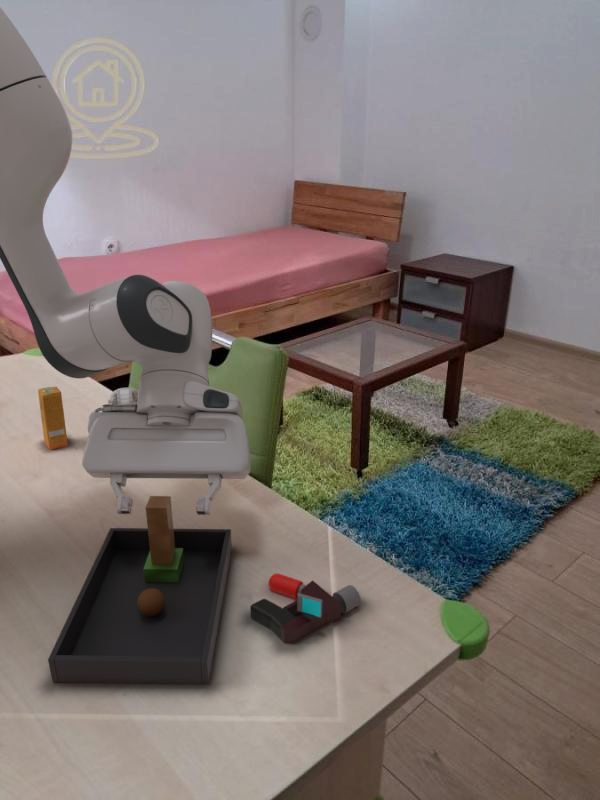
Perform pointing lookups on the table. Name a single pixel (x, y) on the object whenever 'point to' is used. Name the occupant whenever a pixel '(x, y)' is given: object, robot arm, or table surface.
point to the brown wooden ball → (151, 602)
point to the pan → (136, 633)
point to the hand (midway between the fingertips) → (163, 513)
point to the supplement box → (52, 417)
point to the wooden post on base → (162, 543)
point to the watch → (124, 396)
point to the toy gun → (302, 608)
